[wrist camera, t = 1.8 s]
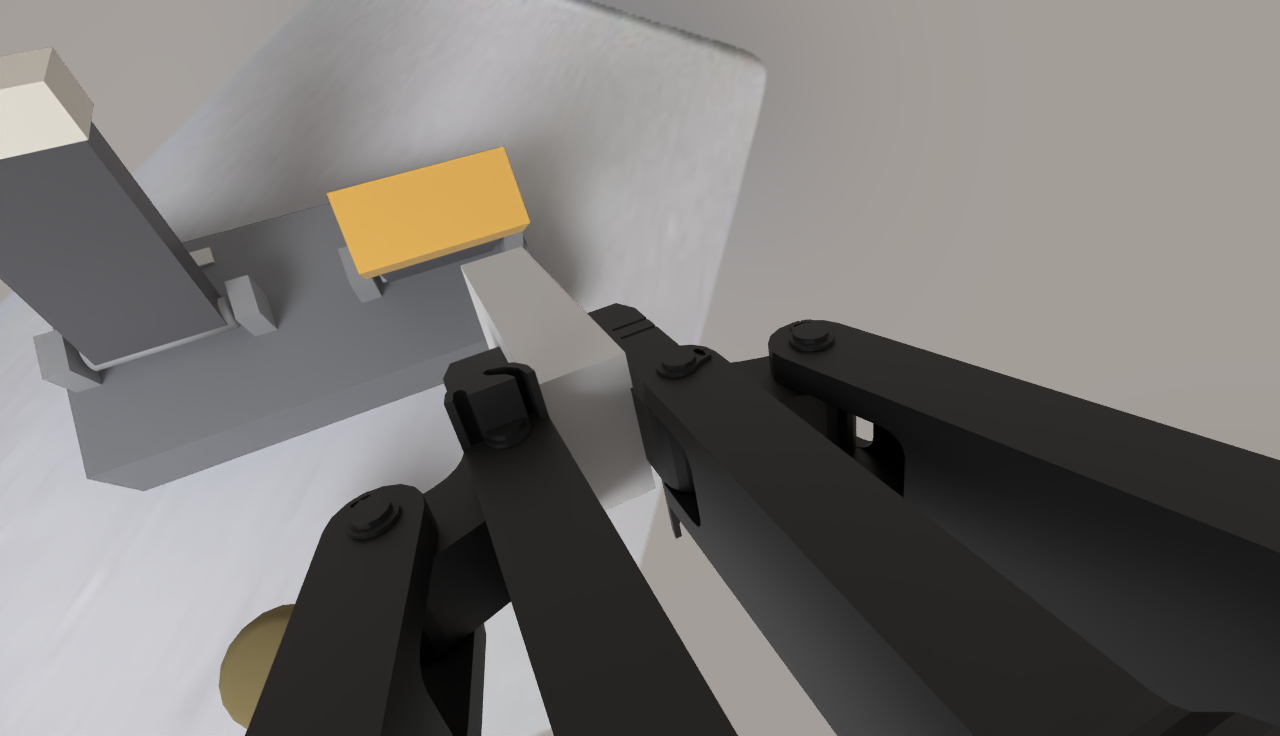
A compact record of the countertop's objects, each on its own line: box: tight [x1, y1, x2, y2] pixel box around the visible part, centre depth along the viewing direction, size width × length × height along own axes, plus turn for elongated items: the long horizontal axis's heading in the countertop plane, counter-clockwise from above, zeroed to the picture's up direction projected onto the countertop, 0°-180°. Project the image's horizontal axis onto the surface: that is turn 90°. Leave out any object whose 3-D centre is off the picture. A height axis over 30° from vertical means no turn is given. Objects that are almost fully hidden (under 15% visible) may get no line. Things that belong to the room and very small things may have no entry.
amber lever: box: [326, 146, 530, 283], centre depth 32 cm, size 3×7×15 cm, turn 114°
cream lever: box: [0, 47, 240, 371], centre depth 29 cm, size 3×7×15 cm, turn 115°
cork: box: [219, 604, 295, 729], centre depth 31 cm, size 6×6×11 cm
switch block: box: [33, 203, 533, 491], centre depth 38 cm, size 26×12×8 cm, turn 114°
